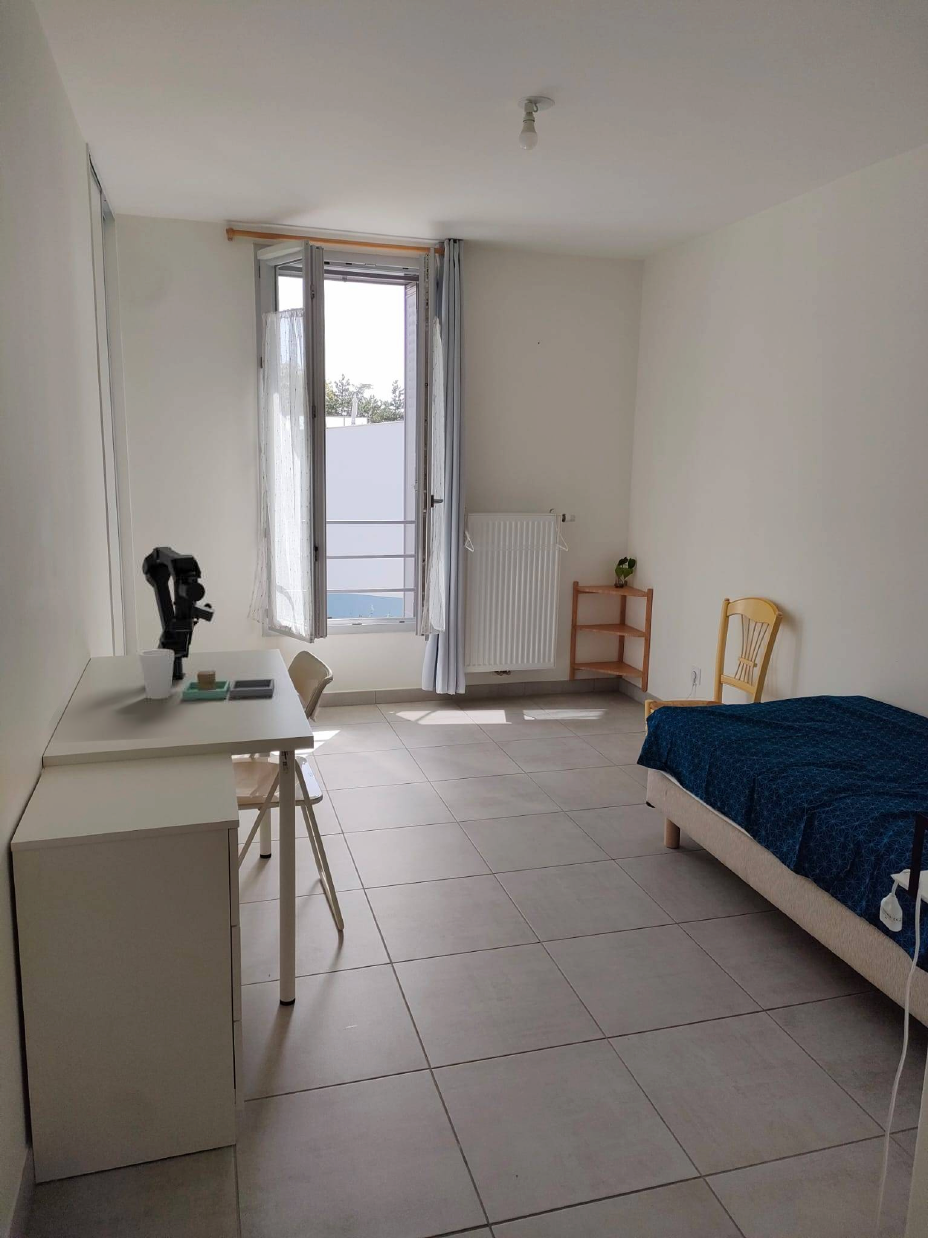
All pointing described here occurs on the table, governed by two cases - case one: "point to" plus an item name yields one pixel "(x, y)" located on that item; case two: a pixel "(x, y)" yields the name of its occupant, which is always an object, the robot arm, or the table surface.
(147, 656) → the foam cup
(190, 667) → the table surface
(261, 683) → the tray
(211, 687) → the walnut block
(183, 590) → the robot arm
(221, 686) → the tray
